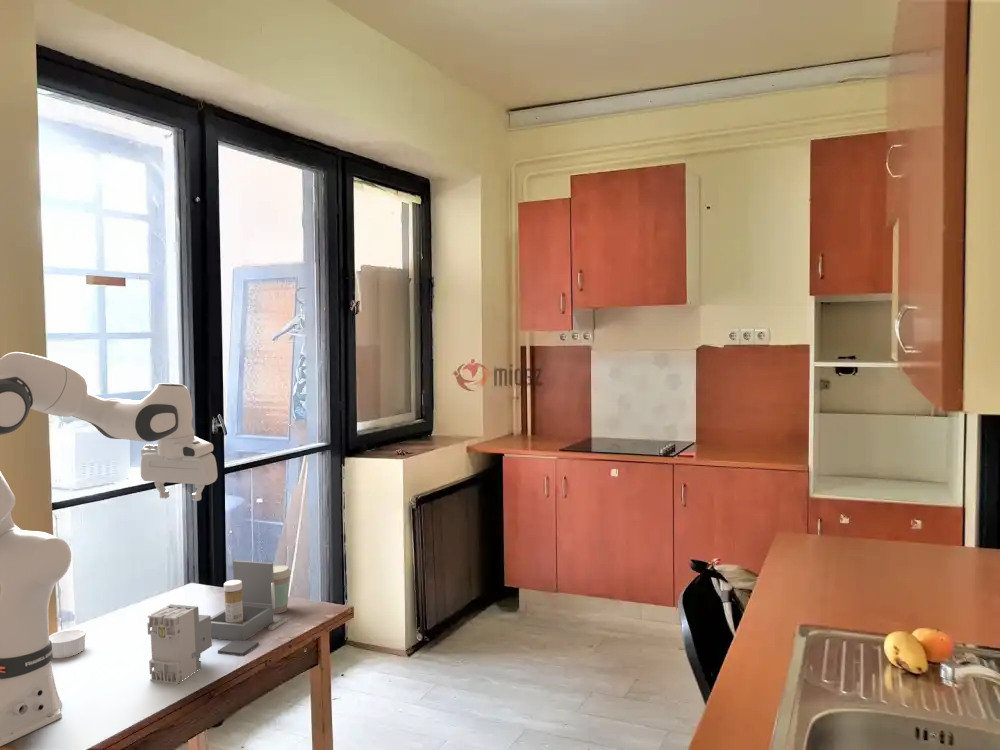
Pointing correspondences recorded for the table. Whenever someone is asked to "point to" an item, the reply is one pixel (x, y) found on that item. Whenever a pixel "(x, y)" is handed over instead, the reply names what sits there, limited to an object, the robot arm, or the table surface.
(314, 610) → the table surface
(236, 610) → the sprinkles bottle
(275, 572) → the coffee cup
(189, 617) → the circuit breaker
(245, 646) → the pad
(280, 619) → the rod
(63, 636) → the ramekin
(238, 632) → the case
